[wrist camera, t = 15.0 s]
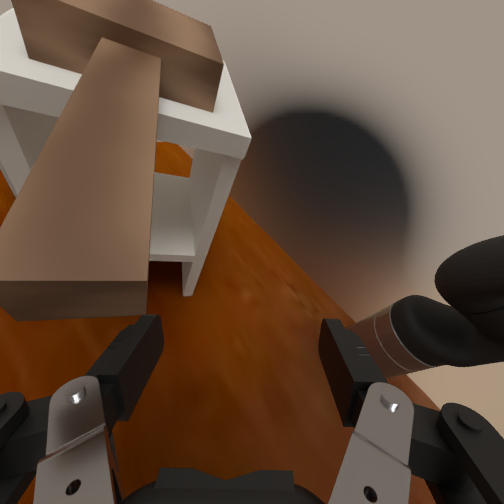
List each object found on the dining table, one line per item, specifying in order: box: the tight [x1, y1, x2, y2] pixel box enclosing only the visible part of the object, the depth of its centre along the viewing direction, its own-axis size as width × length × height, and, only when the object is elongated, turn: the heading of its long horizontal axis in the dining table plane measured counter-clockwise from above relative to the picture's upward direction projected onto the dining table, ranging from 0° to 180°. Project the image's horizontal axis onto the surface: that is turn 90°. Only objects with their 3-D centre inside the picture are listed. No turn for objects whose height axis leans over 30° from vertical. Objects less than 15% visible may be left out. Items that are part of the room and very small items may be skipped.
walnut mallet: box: [0, 0, 224, 321], centre depth 14 cm, size 12×28×4 cm, turn 11°
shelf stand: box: [0, 8, 251, 296], centre depth 32 cm, size 18×18×31 cm
